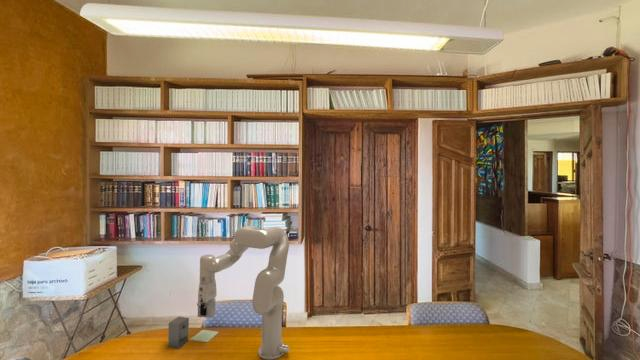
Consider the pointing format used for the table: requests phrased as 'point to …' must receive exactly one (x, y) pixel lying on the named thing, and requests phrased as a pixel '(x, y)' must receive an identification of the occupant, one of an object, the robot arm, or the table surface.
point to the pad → (204, 336)
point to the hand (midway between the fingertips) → (206, 312)
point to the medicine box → (208, 309)
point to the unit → (178, 332)
